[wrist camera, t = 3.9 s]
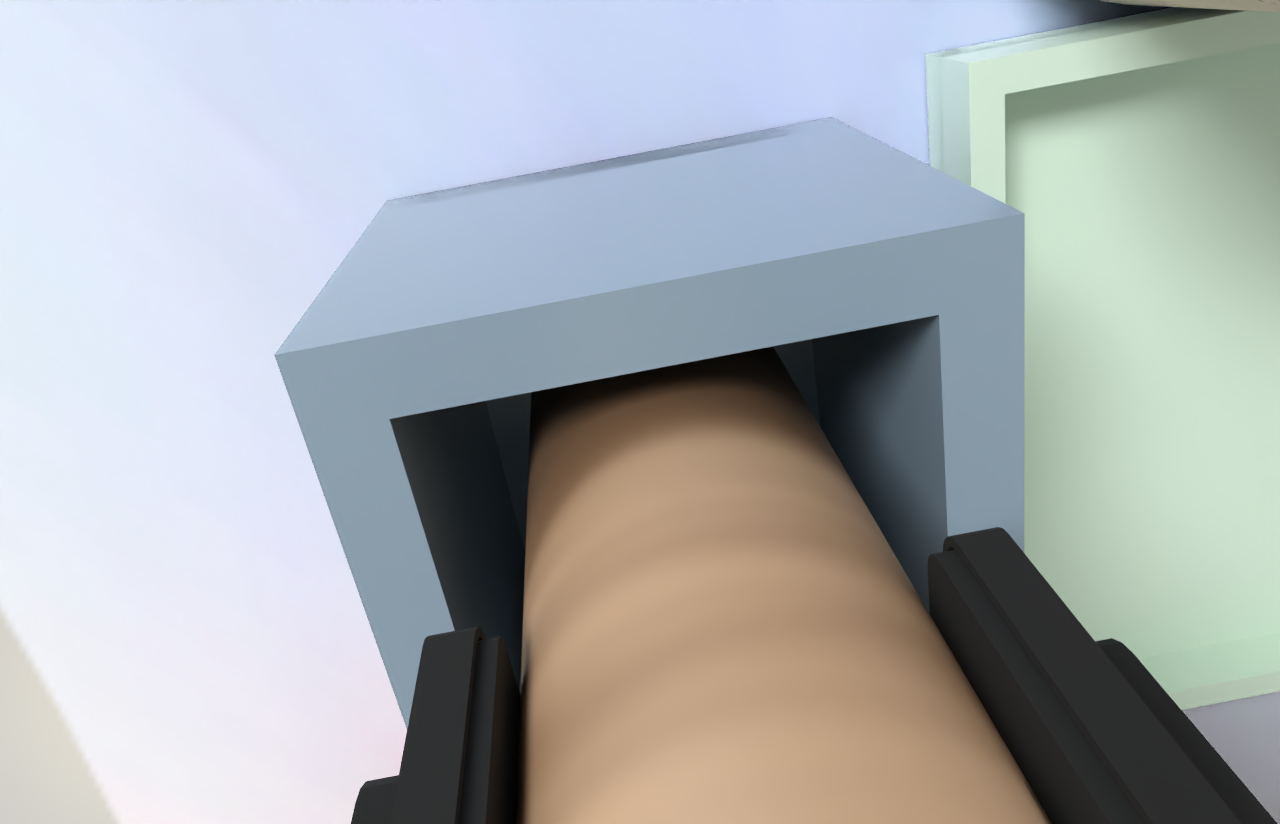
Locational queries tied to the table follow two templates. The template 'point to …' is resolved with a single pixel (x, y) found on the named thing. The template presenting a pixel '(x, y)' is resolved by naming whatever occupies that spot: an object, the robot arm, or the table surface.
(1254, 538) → the tray
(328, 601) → the table surface
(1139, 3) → the teacup with lid
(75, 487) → the table surface
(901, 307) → the deep square box
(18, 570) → the table surface
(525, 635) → the peg
